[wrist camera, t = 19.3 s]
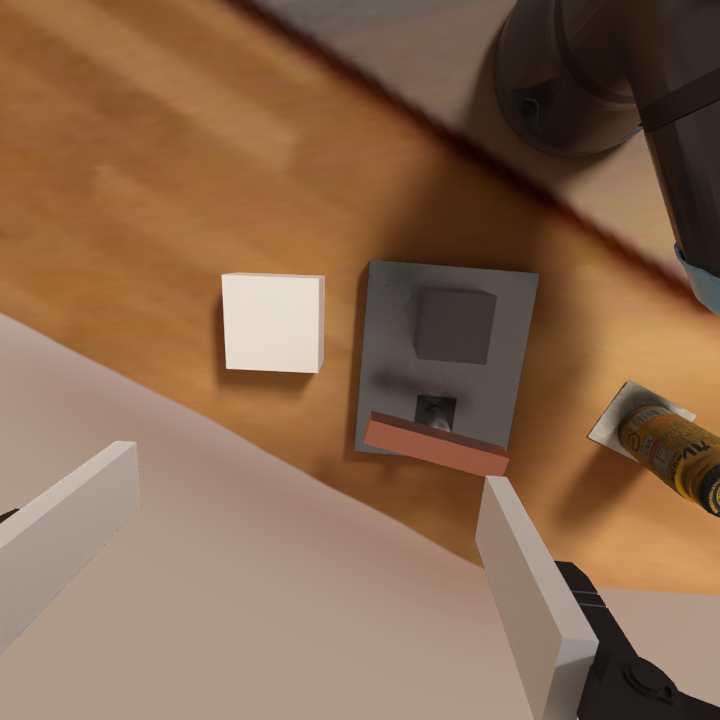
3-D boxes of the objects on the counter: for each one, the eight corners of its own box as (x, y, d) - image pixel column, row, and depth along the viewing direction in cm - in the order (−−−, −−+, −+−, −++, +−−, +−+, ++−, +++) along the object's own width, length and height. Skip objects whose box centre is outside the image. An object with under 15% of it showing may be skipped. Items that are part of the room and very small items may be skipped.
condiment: (652, 469, 45) (745, 543, 34) (586, 436, 45) (658, 500, 33) (695, 414, 44) (809, 473, 32) (627, 379, 43) (718, 426, 31)
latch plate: (370, 259, 41) (368, 261, 34) (532, 272, 41) (562, 276, 34) (355, 442, 46) (351, 475, 40) (499, 456, 46) (519, 491, 39)
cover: (237, 272, 42) (221, 274, 38) (324, 276, 42) (319, 278, 38) (240, 357, 44) (226, 368, 40) (323, 361, 44) (317, 373, 40)
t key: (366, 406, 43) (363, 443, 35) (372, 387, 42) (370, 420, 34) (477, 437, 43) (500, 481, 35) (484, 418, 42) (509, 458, 34)
